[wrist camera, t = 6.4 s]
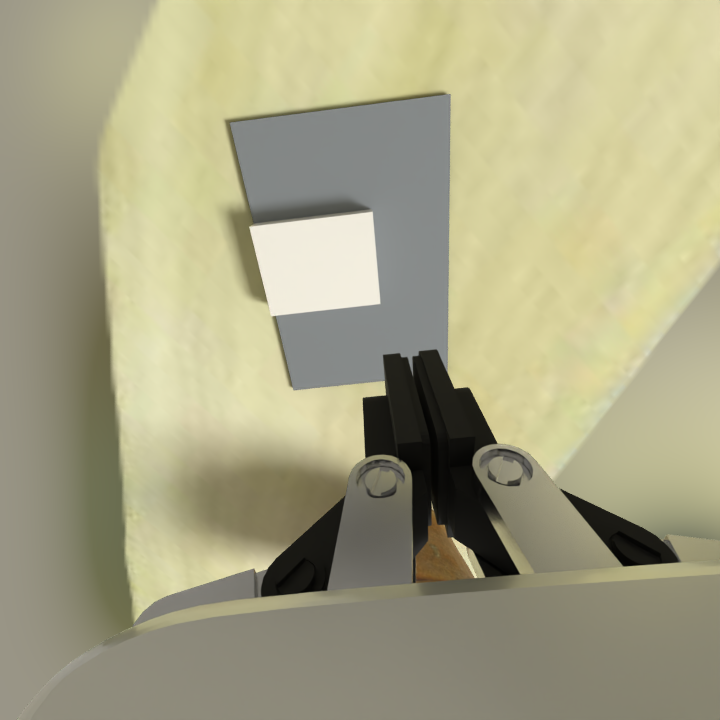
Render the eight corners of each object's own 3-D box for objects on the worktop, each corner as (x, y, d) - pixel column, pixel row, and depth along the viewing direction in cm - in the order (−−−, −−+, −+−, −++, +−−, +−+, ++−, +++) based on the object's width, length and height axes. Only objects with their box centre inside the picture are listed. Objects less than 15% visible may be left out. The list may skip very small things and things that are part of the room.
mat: (231, 123, 25) (229, 122, 24) (449, 94, 24) (450, 94, 24) (294, 387, 35) (293, 390, 35) (446, 372, 35) (447, 374, 35)
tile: (371, 209, 27) (254, 223, 28) (372, 211, 26) (249, 226, 26) (378, 296, 31) (275, 308, 31) (380, 303, 29) (271, 316, 29)
